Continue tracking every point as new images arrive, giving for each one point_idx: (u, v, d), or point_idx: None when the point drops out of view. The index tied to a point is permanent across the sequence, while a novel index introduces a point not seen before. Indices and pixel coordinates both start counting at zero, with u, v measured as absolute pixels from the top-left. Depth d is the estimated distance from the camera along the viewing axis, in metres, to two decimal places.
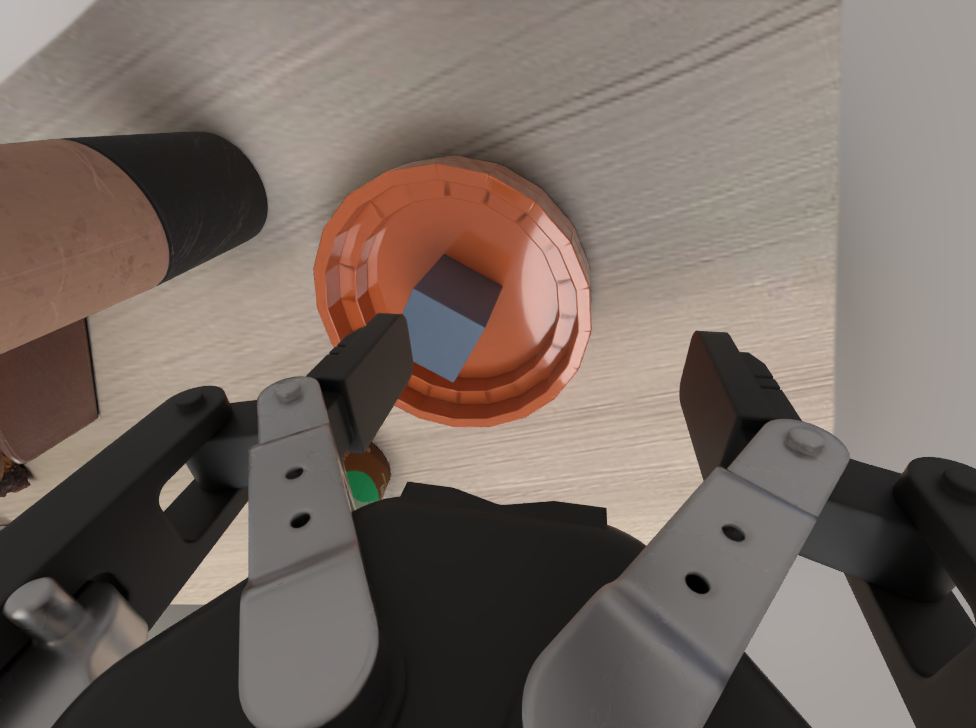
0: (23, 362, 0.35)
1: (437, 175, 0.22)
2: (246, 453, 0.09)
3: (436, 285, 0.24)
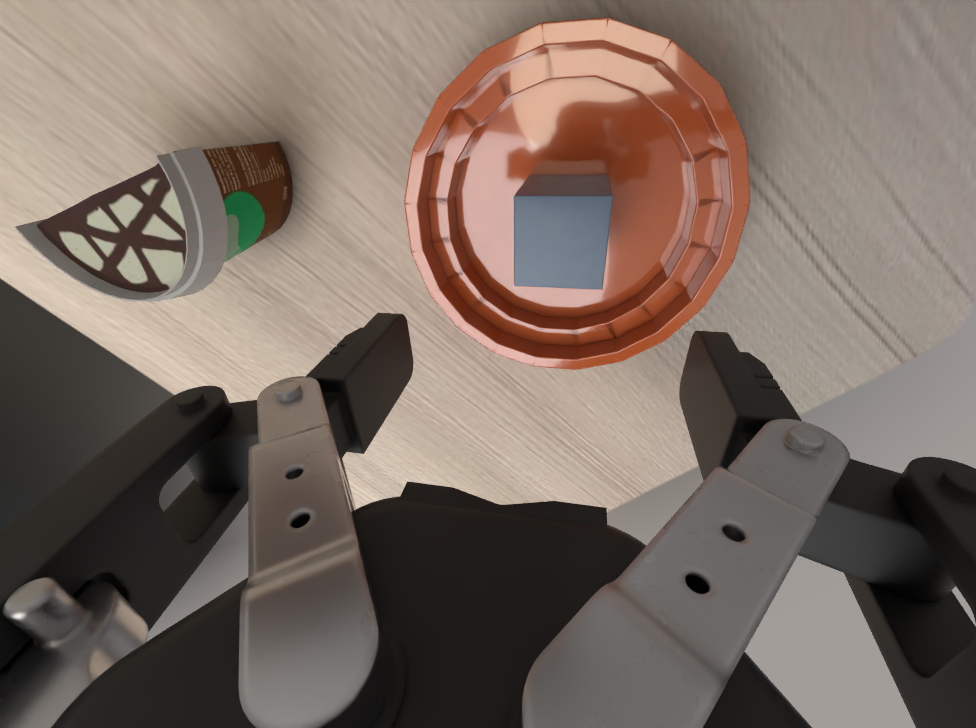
0: None
1: (732, 149, 0.19)
2: (246, 453, 0.09)
3: None
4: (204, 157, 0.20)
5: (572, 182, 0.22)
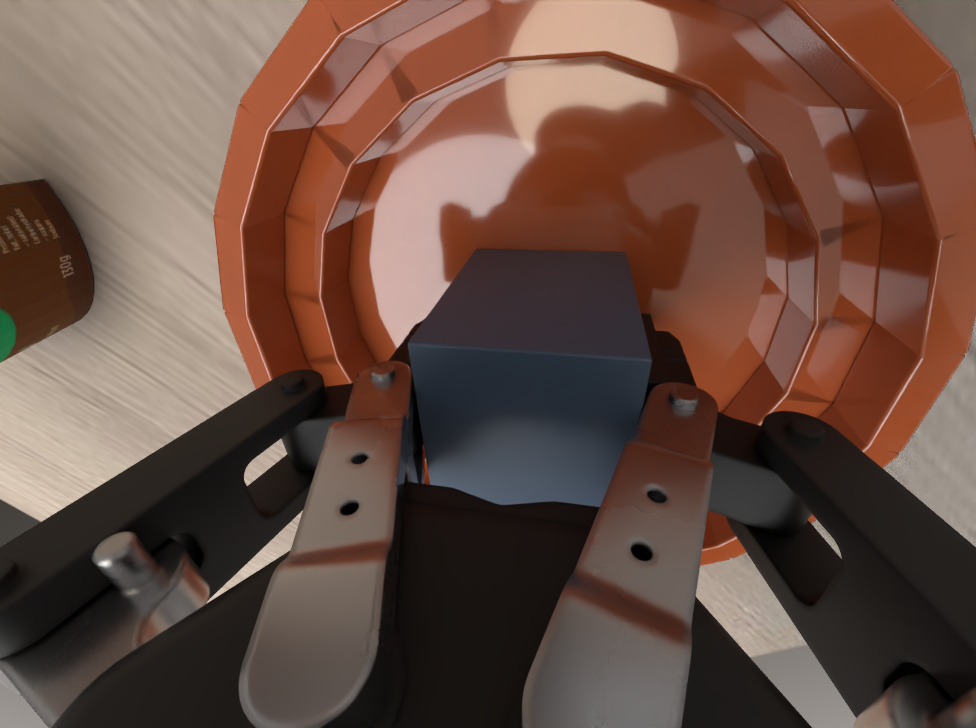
0: None
1: (953, 236, 0.08)
2: None
3: None
4: None
5: (554, 282, 0.10)
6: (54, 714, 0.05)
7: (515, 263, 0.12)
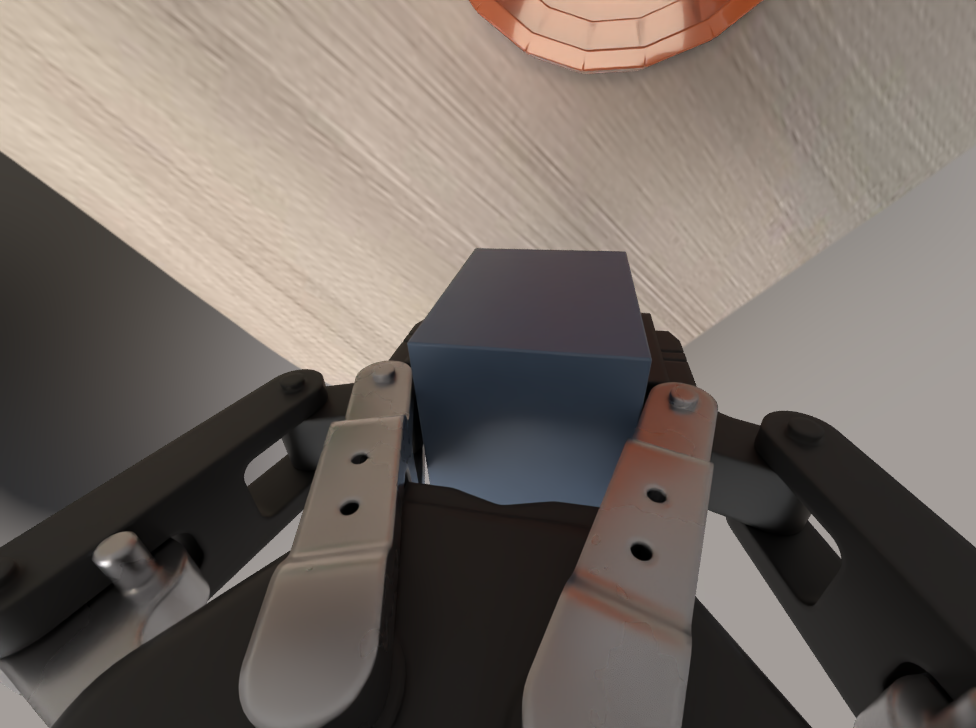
0: None
1: None
2: None
3: None
4: None
5: (553, 282, 0.10)
6: (54, 714, 0.05)
7: (515, 262, 0.12)
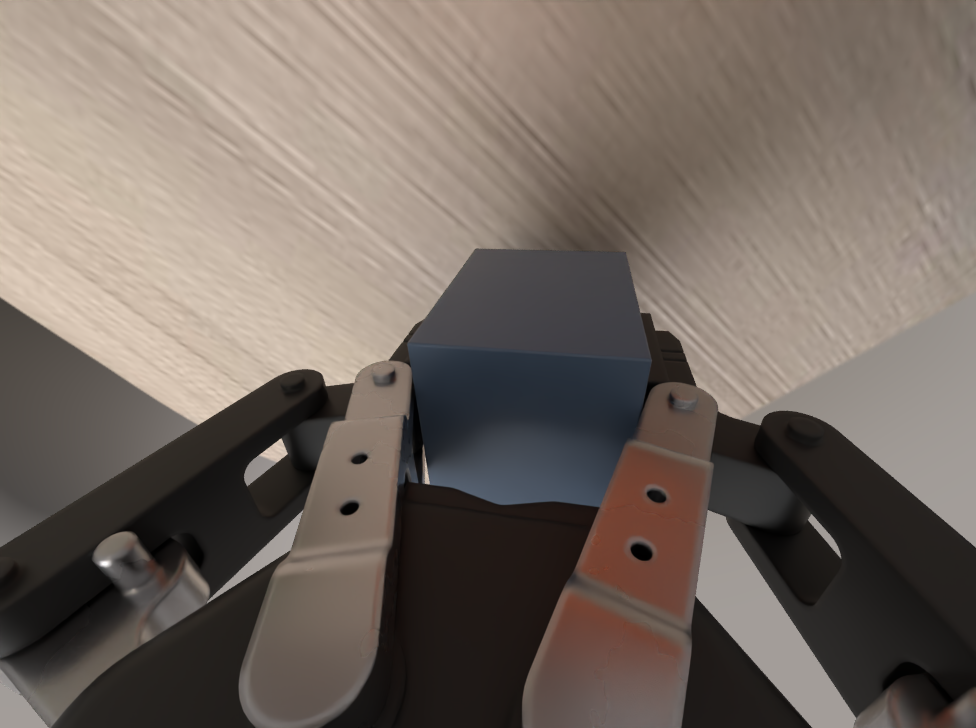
0: None
1: None
2: None
3: None
4: None
5: (553, 282, 0.10)
6: (54, 714, 0.05)
7: (515, 263, 0.12)
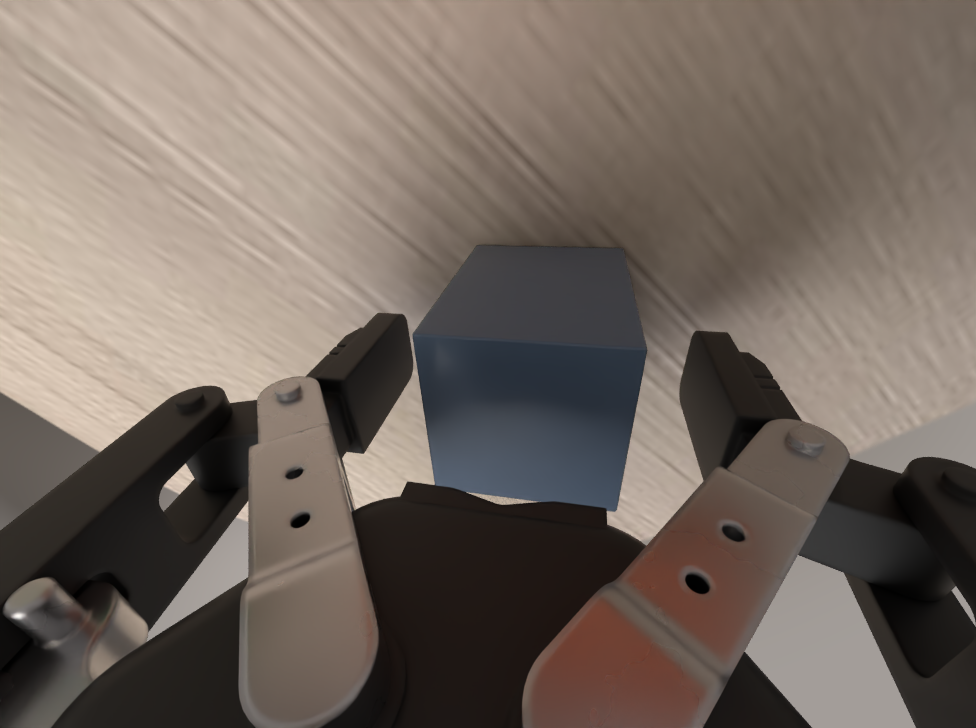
0: None
1: None
2: (246, 453, 0.09)
3: None
4: None
5: (553, 277, 0.11)
6: None
7: (515, 259, 0.12)
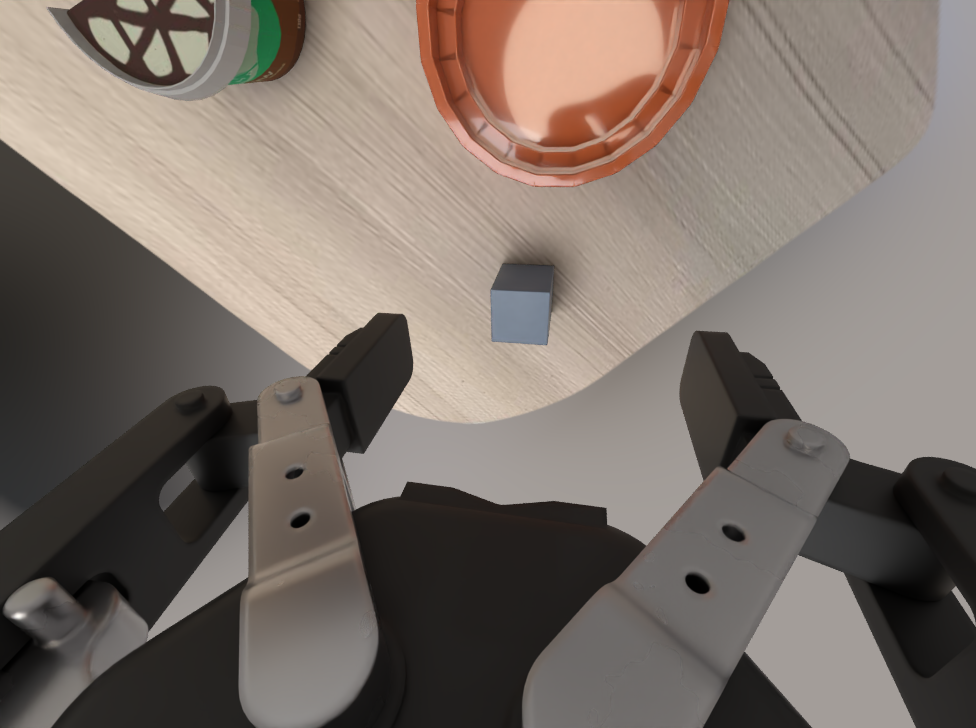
0: None
1: None
2: (246, 453, 0.09)
3: None
4: None
5: (529, 275, 0.34)
6: None
7: (517, 269, 0.35)
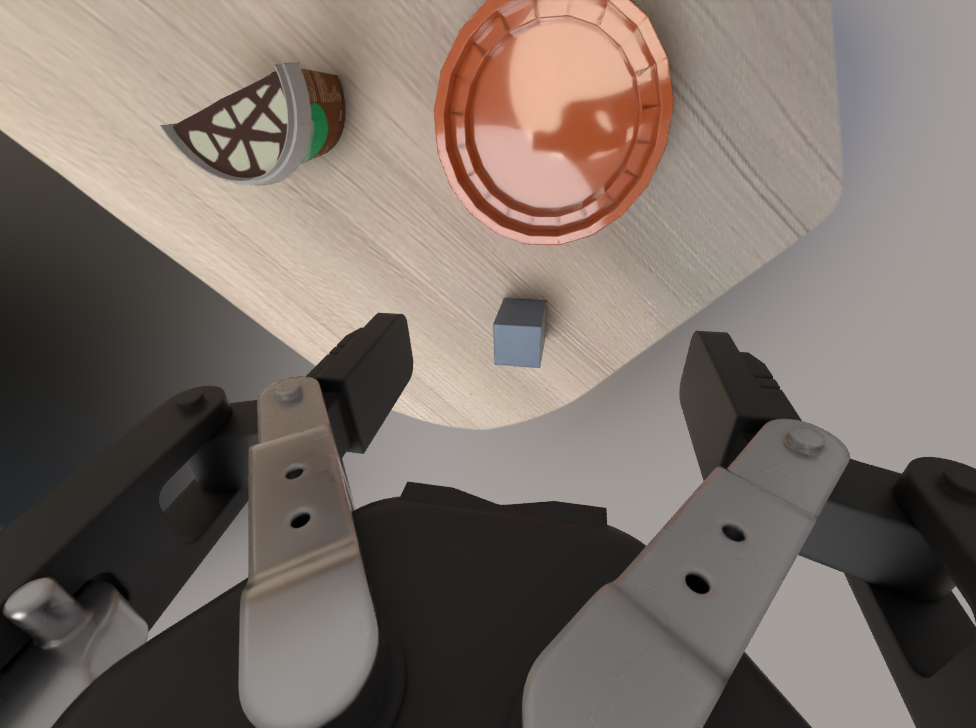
0: None
1: (659, 62, 0.28)
2: (246, 453, 0.09)
3: (542, 327, 0.40)
4: (300, 70, 0.29)
5: (525, 310, 0.42)
6: None
7: (515, 304, 0.43)
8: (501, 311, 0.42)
